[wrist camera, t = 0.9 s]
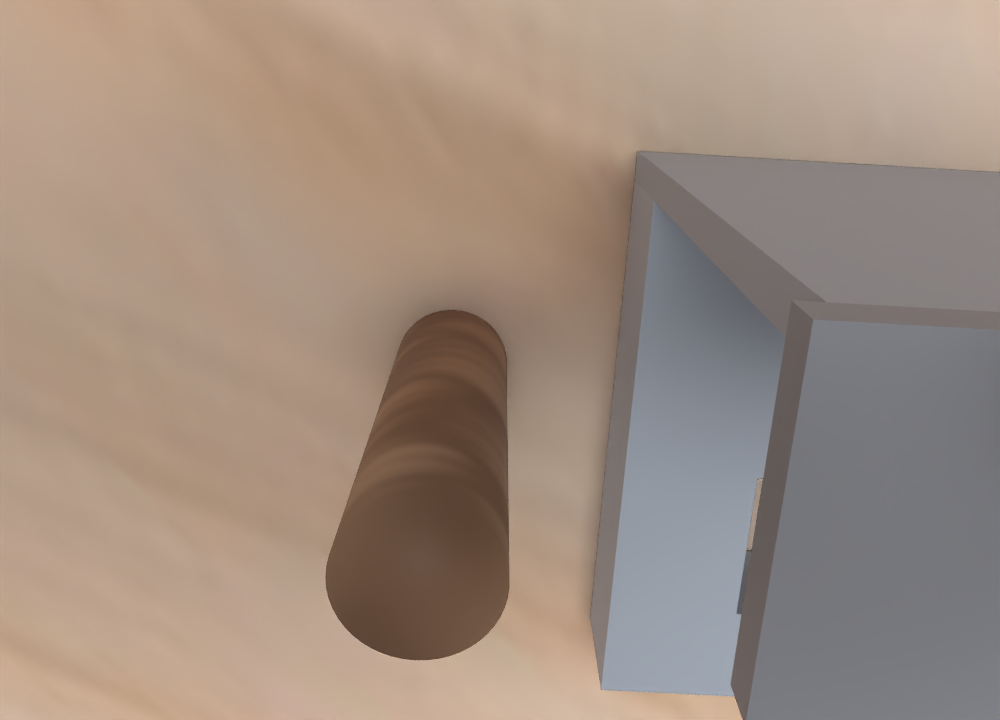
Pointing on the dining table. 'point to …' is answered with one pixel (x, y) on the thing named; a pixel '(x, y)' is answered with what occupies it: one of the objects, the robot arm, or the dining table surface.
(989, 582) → the socket station
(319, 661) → the dining table surface
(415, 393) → the peg
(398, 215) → the dining table surface
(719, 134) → the dining table surface
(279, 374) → the dining table surface
